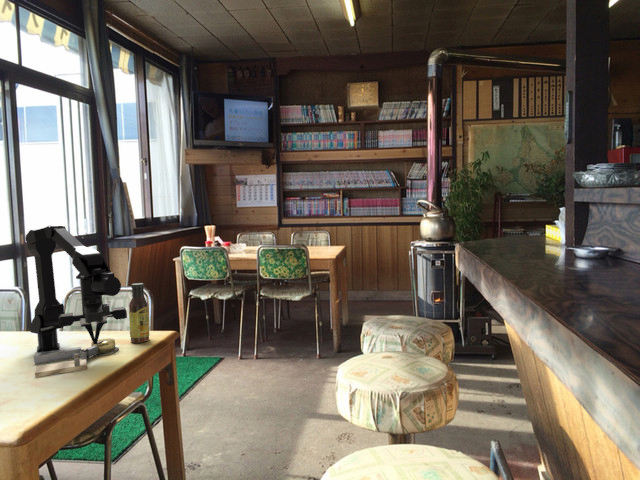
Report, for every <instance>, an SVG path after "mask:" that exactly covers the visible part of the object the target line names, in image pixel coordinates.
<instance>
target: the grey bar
mask: <svg viewBox="0 0 640 480" xmlns="http://www.w3.org/2000/svg"><path fill="white" fill-rule="evenodd" d="M81 350H82V347H81V346H77V347H72V348H71V347H70V348H65V349H64V348H63V349H55V350H48V351H41V352H35V353H34V354H33V357H34V358H33V361H34V365H40V364H42V365H43V364H47V363H51V362H57V361H63V360H71V359H74V354H79V358H80V351H81ZM70 358H71V359H70Z"/></svg>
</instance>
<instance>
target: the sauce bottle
mask: <svg viewBox="0 0 640 480" xmlns="http://www.w3.org/2000/svg"><path fill="white" fill-rule="evenodd" d="M130 285H131V292H132V295H131V297H132V298H131V300H130V302H129V304H128V308H129V309H128V310H129V312H128V314H129V315H128V316H129V320H128V321H129V337H130V342H131V343H135V344H140V343H141V344H142V343H146V342H148V341H149V339H150V317H149V304H148V302H147V300H146V297H145V289H144V288H145V283H143V282H137V283H132V284H130Z"/></svg>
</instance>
